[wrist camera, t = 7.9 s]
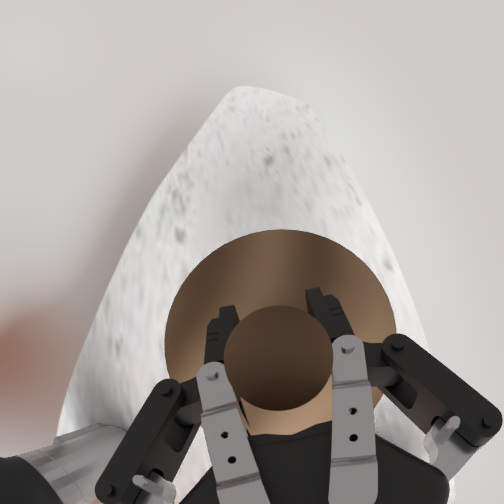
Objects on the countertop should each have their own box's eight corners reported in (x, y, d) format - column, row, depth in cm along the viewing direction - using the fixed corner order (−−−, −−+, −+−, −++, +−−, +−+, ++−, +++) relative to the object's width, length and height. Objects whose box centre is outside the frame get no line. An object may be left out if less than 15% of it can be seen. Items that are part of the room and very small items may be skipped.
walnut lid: (150, 406, 16) (74, 440, 8) (209, 214, 19) (165, 144, 12) (350, 464, 14) (385, 532, 6) (407, 265, 17) (476, 220, 9)
